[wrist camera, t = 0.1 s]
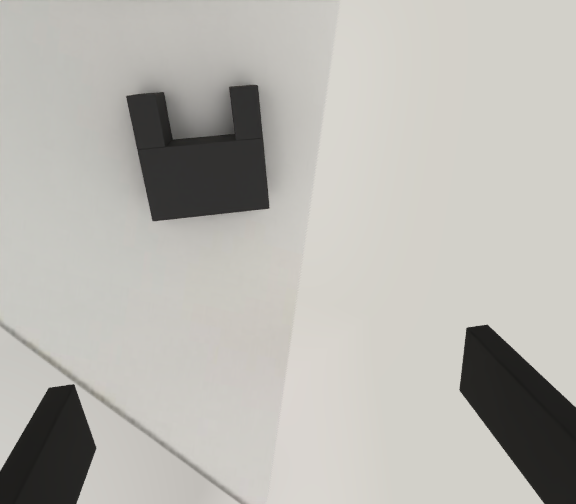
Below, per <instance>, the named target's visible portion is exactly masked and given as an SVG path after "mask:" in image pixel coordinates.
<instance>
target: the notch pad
mask: <svg viewBox="0 0 576 504" xmlns="http://www.w3.org/2000/svg"><path fill="white" fill-rule="evenodd" d="M229 88H230V97H231V105H232V113H233V122H234V130H235V134H231V135H220V136H209V137H199V138H188V139H177V140H172V135H171V129H170V124H169V118H168V112H167V107H166V101H165V96H164V92H160V93H148V94H137V95H130V96H126V98H127V102H128V107H129V112H130V117H131V121H132V126H133V131H134V135H135V140H136V145H137V149H138V155H139V159H140V164H141V169H142V173H143V178H144V183H145V187H146V192H147V197H148V201H149V206H150V211H151V216H152V220H153V221H160V220H169V219H178V218H187V217H197V216H206V215H215V214H224V213H233V212H242V211H251V210H260V209H269V198H268V188H267V177H266V167H265V156H264V146H263V135H262V124H261V114H260V103H259V93H258V86H257V85H246V86H234V87H229Z"/></svg>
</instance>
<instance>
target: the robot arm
mask: <svg viewBox="0 0 576 504" xmlns="http://www.w3.org/2000/svg"><path fill="white" fill-rule="evenodd" d="M460 392H461V393H462V394H463V396H464V397H465V398H466V399H467V401H468V402H469V404H470V405H471V406H472V407H473V409H474V410H475V411H476V413H477V414H478V416H479V417H480V418H481V419H482V421H483V422H484V423H485V425H486V426H487V428H488V429H489V430H490V432H491V433H492V434H493V436H494V437H495V438H496V439H497V441H498V442H499V443H500V445H501V446H502V448H503V449H504V450H505V452H506V453H507V454H508V456H509V457H510V458H511V460H512V461H513V462H514V464H515V465H516V466H517V468H518V469H519V470H520V472H521V473H522V474H523V476H524V477H525V478H526V479H527V481H528V482H529V484H530V485H531V486H532V488H533V489H534V490H535V492H536V493H537V494H538V496H539V497H540V498H541V500H542V501H543V502H544V504H576V407H575V406H573V405H572V404H571V403H570V402H569V401H568V400H567V399H566V398H565V397H564V396H563V395H562V394H561V393H560V392H559V391H557V390H556V389H555V388H554V387H553V386H552V385H551V384H550V383H549V382H548V381H547V380H546V379H545V378H543V376H542V375H540V374H539V373H538V372H537V371H536V370H535V369H534V368H533V367H532V366H531V365H529V363H528V362H526V361H525V360H524V359H523V358H522V357H521V356H520V355H519V354H518V353H517V352H516V351H515V350H514V349H513V348H512V347H511V346H510V345H509V344H507V343H506V342H505V341H504V340H503V339H502V338H501V337H500V336H499V335H498V334H497V333H496V332H495V331H494V330H492V329H491V328H490V327H489V326H488V325H482V326H475V327H468V328H467V329H466V339H465V347H464V355H463V364H462V373H461V382H460ZM95 450H96V446H95V443H94V440H93V437H92V434H91V431H90V428H89V425H88V423H87V420H86V417H85V414H84V411H83V408H82V405H81V403H80V400H79V397H78V394H77V391H76V388H75V385H74V384H73V385H66V386H59V387H52V388H49V389H48V390H47V392H46V394H45V395H44V397H43V399H42V401H41V402H40V404H39V406H38V407H37V409H36V411H35V413H34V414H33V416H32V418H31V420H30V421H29V423H28V425H27V426H26V428H25V430H24V432H23V433H22V435H21V437H20V438H19V440H18V442H17V443H16V445H15V447H14V449H13V450H12V452H11V454H10V456H9V457H8V459H7V461H6V463H5V464H4V466H3V467H2V469H1V471H0V504H76V503H77V500H78V498H79V495H80V492H81V489H82V486H83V484H84V481H85V478H86V475H87V473H88V469H89V467H90V464H91V461H92V459H93V456H94V453H95Z"/></svg>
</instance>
